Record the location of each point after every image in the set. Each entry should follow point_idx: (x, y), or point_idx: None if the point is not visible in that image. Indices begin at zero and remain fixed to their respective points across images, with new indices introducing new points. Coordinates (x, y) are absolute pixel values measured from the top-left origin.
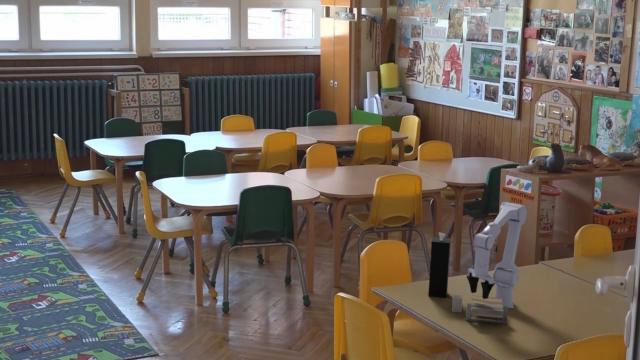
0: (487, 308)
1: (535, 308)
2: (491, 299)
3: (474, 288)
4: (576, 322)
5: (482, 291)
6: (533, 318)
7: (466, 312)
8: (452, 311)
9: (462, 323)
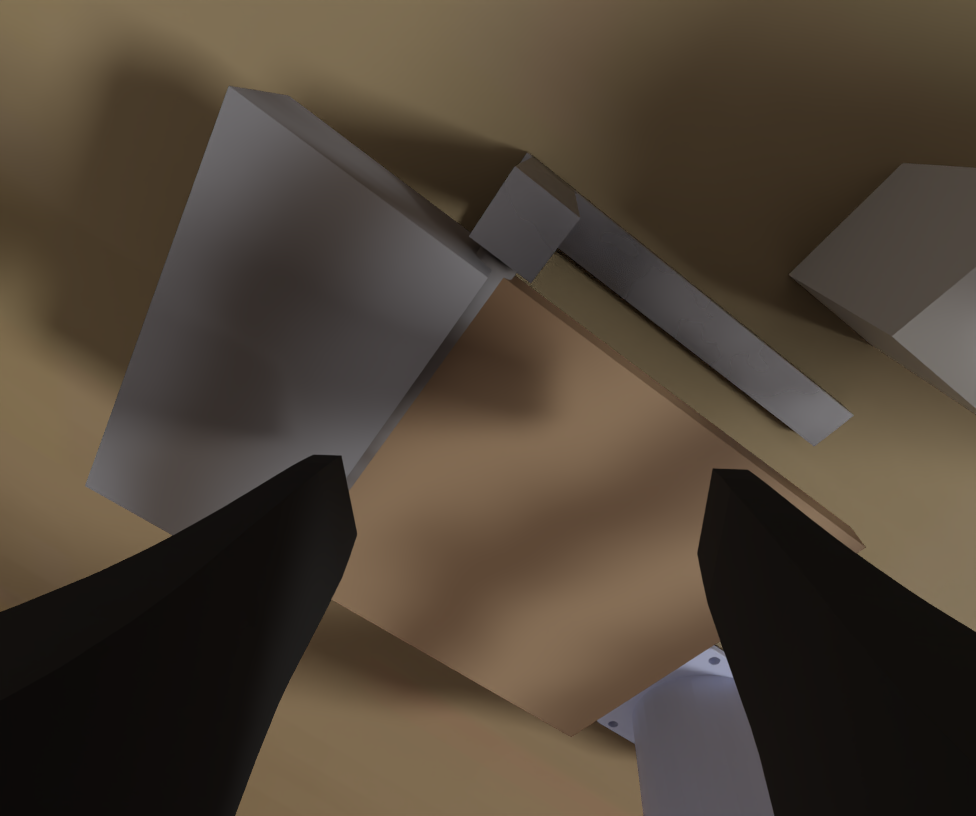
0: (194, 359)
1: (534, 795)
2: (581, 639)
3: (733, 591)
4: (266, 798)
5: (236, 538)
6: (379, 691)
7: (706, 299)
8: (893, 175)
9: (458, 29)
